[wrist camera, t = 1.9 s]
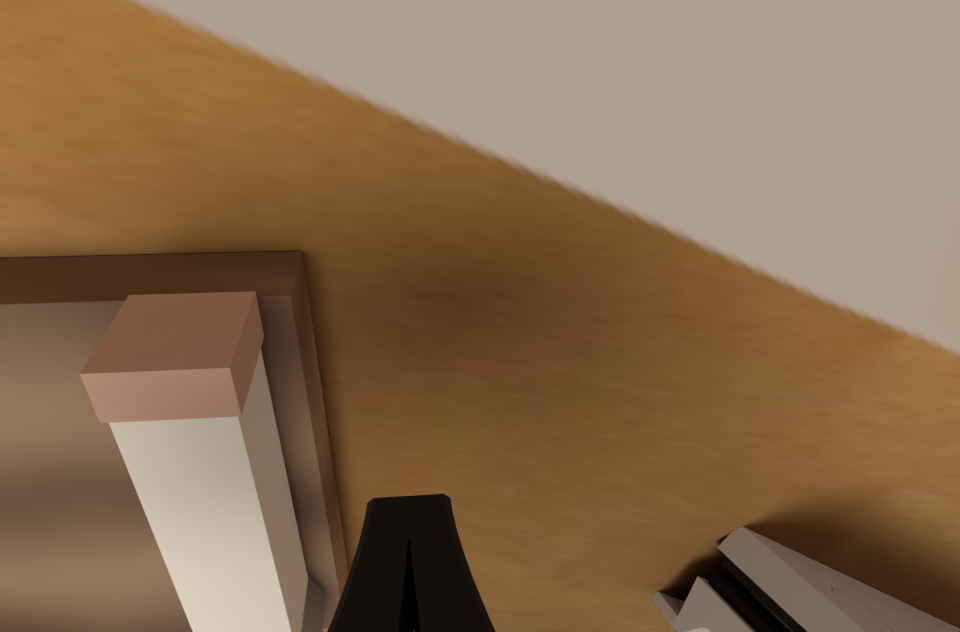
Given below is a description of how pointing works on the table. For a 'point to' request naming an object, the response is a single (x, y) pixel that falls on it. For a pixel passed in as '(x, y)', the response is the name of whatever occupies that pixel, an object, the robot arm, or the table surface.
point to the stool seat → (95, 453)
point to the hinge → (787, 596)
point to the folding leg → (206, 457)
